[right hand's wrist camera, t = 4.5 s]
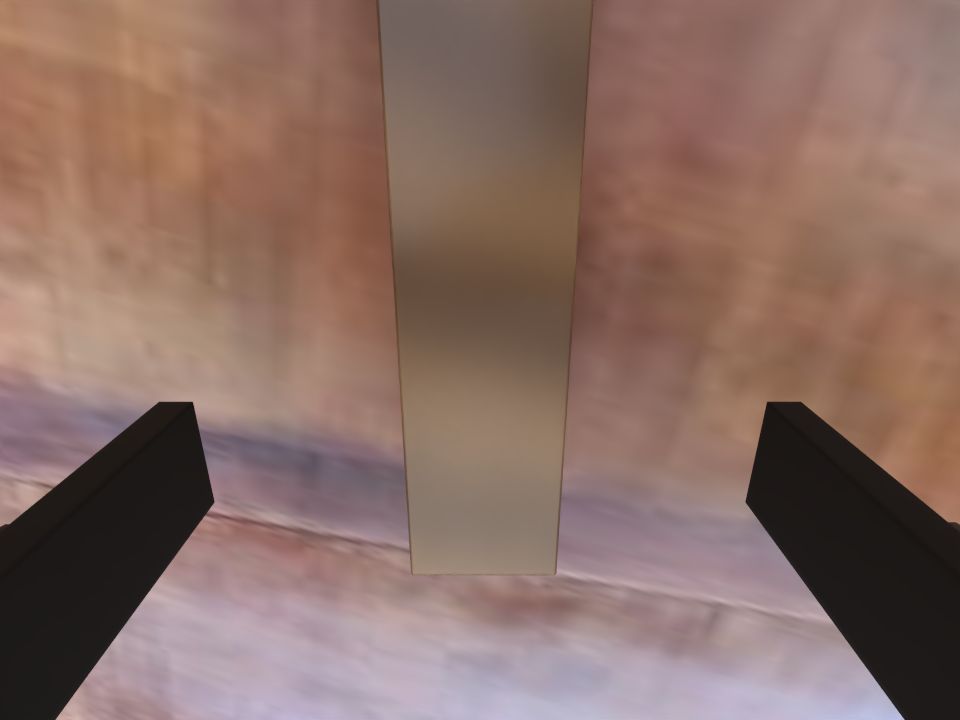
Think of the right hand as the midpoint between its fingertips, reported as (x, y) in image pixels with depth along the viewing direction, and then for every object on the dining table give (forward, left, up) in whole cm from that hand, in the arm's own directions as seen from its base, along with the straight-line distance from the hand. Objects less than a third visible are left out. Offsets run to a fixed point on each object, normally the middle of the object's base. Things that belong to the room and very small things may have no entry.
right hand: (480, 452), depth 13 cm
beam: (+30, 0, -12) cm, 32 cm away
